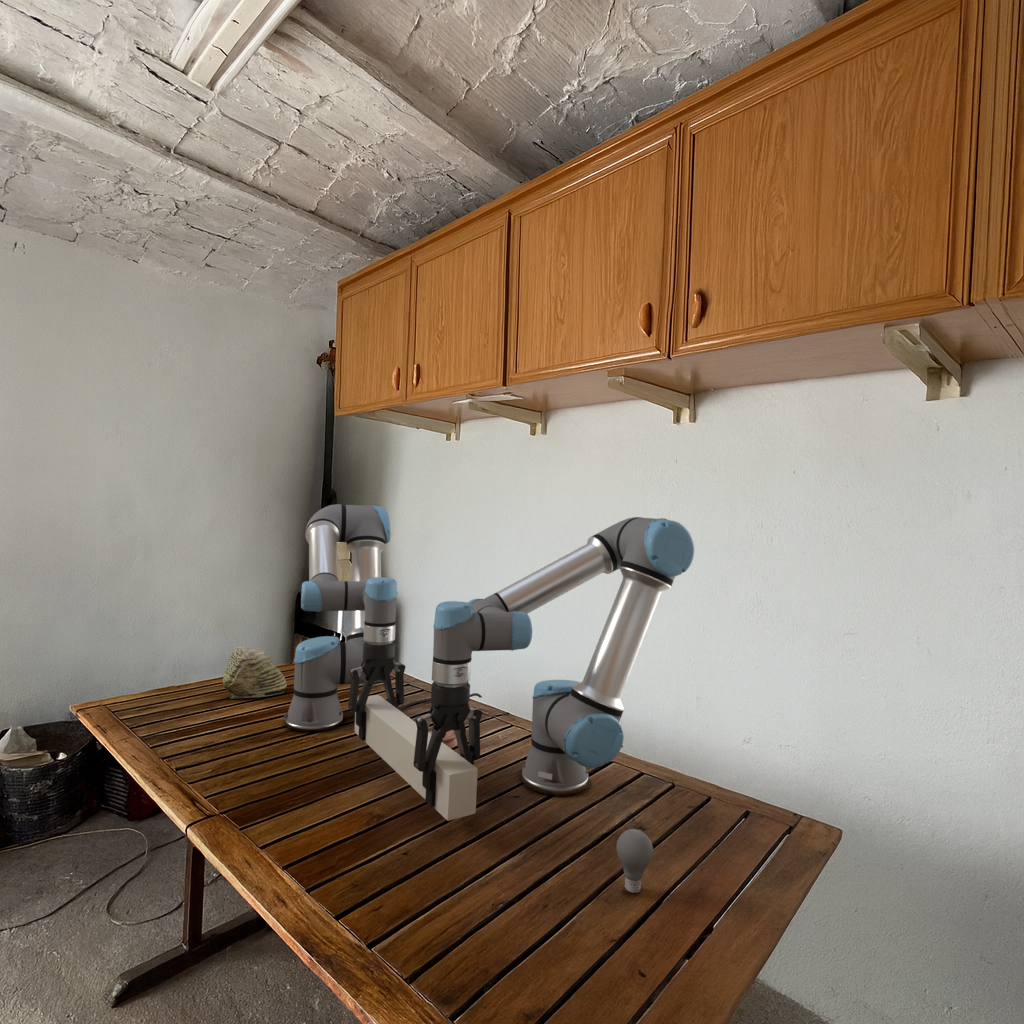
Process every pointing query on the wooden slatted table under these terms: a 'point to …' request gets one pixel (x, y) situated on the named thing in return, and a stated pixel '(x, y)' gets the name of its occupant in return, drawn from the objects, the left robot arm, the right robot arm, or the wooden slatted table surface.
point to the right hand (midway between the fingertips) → (445, 799)
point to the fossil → (252, 674)
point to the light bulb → (634, 857)
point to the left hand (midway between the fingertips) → (375, 735)
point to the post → (396, 746)
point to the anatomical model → (449, 739)
